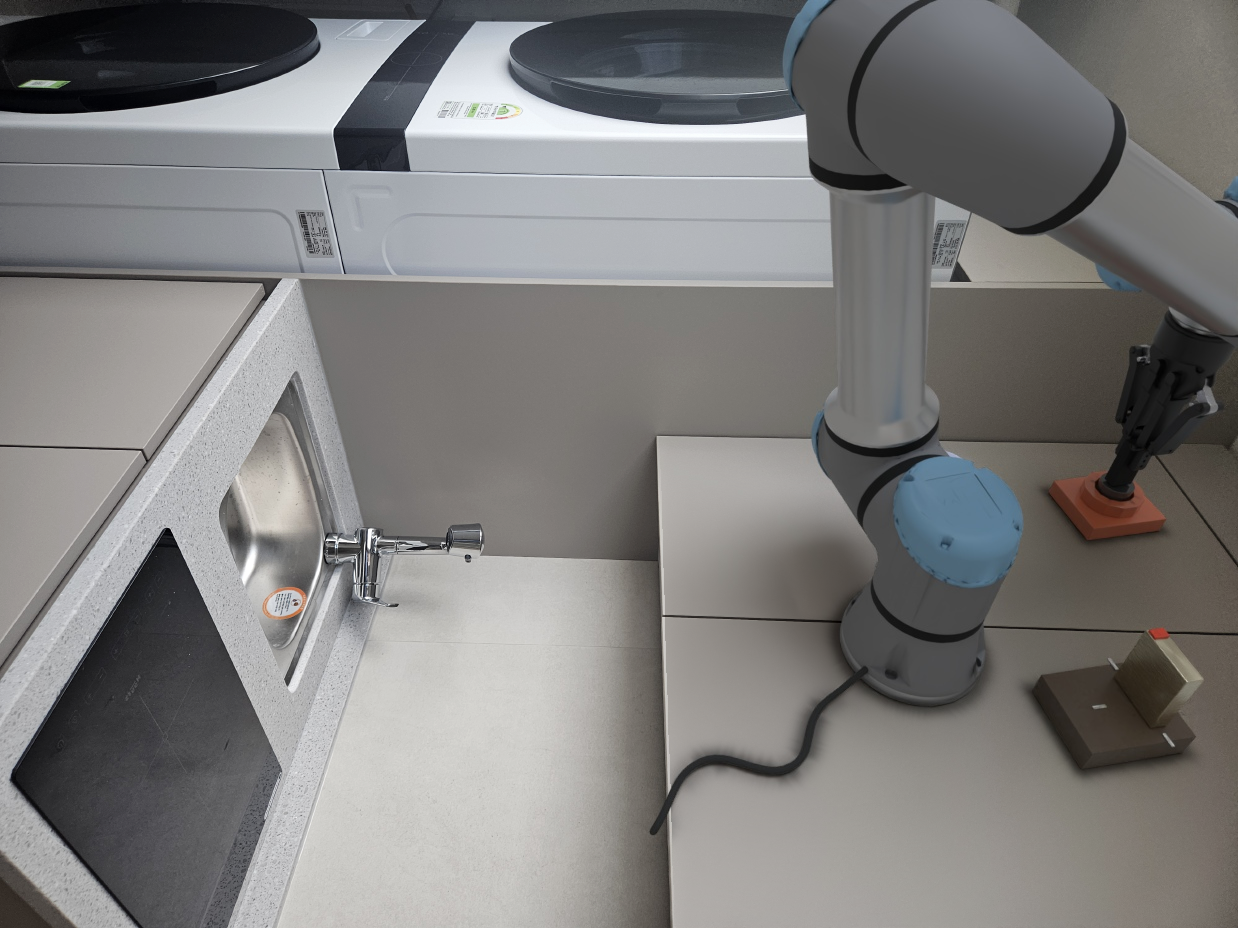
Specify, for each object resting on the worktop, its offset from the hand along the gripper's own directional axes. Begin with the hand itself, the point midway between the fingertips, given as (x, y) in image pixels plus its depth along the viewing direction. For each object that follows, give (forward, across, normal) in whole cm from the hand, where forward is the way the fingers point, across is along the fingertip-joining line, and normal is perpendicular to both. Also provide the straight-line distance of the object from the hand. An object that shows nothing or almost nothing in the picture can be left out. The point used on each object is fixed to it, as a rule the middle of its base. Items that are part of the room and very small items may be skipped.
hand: (1117, 481), depth 102 cm
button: (+2, 0, 0) cm, 2 cm away
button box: (+5, 0, 0) cm, 5 cm away
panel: (+6, -28, +17) cm, 33 cm away
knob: (+2, -28, +15) cm, 32 cm away
